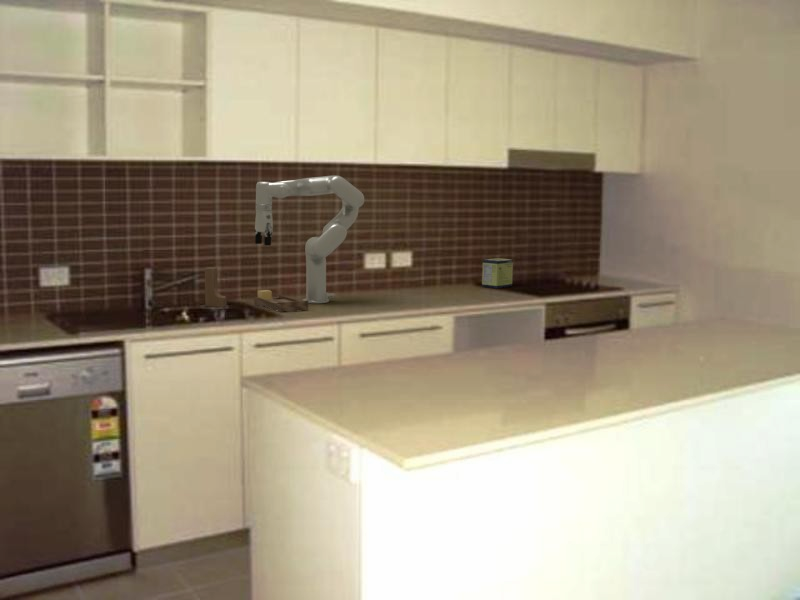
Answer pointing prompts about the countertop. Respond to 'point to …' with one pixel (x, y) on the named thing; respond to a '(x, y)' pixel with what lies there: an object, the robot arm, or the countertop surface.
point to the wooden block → (213, 289)
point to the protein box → (497, 273)
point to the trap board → (282, 303)
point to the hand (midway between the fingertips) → (263, 244)
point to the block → (265, 294)
